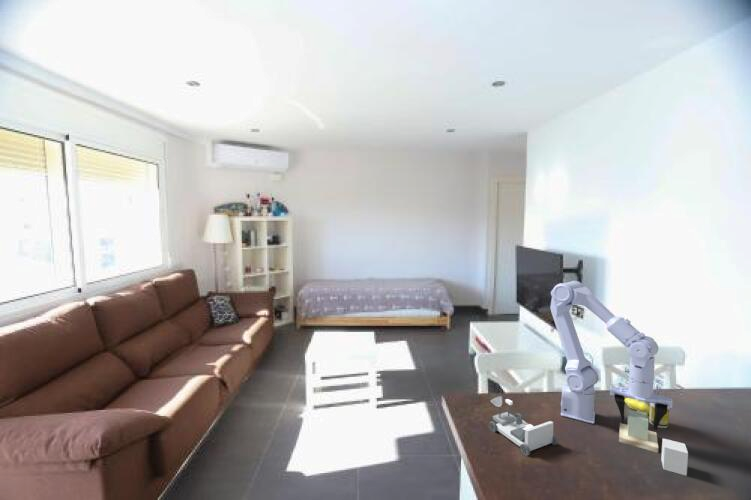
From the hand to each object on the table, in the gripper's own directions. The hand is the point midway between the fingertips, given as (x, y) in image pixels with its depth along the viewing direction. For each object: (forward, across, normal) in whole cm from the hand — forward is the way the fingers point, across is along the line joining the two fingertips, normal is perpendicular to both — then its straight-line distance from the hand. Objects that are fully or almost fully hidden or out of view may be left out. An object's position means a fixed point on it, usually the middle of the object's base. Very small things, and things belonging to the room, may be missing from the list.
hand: (638, 424), depth 106 cm
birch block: (+5, 0, 0) cm, 5 cm away
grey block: (+5, +7, -10) cm, 13 cm away
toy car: (+5, -30, -16) cm, 34 cm away
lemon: (+5, +1, +20) cm, 21 cm away
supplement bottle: (+5, +6, +13) cm, 15 cm away
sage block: (+3, 0, 0) cm, 3 cm away
